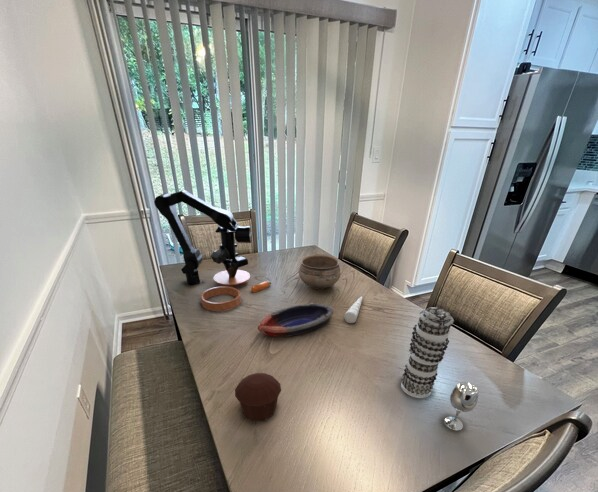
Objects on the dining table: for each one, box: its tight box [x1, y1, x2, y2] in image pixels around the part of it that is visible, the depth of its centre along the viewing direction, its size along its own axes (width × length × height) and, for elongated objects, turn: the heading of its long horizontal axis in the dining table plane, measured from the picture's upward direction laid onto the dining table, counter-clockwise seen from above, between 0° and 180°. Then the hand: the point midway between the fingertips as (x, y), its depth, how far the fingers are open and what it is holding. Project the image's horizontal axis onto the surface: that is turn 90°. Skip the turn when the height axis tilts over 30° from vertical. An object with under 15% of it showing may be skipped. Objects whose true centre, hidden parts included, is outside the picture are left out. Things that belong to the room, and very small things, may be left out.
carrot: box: [250, 280, 272, 293], centre depth 145 cm, size 11×3×3 cm, turn 138°
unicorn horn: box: [343, 295, 363, 324], centre depth 130 cm, size 5×24×5 cm, turn 156°
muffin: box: [234, 372, 282, 422], centre depth 83 cm, size 12×11×10 cm
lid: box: [212, 267, 251, 286], centre depth 148 cm, size 17×17×5 cm
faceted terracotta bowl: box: [200, 285, 242, 312], centre depth 133 cm, size 16×16×4 cm
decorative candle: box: [400, 306, 455, 399], centre depth 86 cm, size 9×9×25 cm
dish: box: [257, 303, 334, 337], centre depth 119 cm, size 16×31×5 cm, turn 118°
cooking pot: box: [298, 253, 342, 290], centre depth 146 cm, size 25×19×12 cm
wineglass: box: [443, 381, 479, 431], centre depth 78 cm, size 6×6×12 cm
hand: (231, 275), depth 148 cm, fingers closed on lid, 3 cm apart
